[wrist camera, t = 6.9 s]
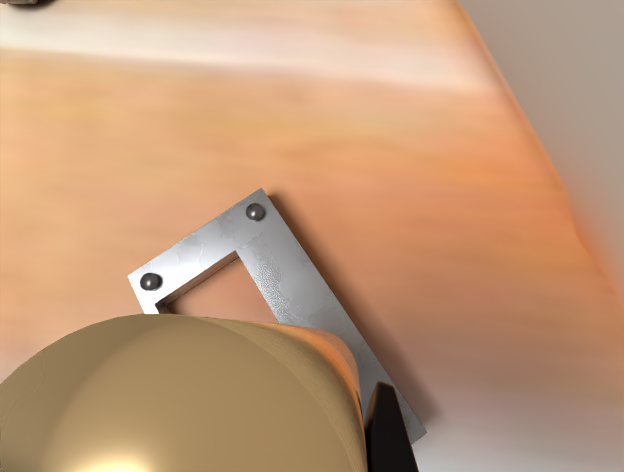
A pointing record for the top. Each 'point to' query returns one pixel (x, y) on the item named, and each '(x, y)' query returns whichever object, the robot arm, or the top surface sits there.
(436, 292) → the top surface
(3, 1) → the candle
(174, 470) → the disc
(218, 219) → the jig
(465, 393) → the top surface
